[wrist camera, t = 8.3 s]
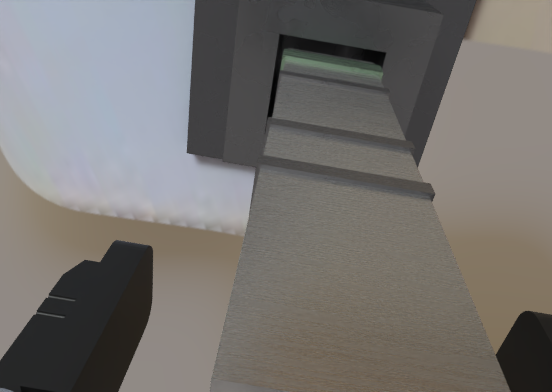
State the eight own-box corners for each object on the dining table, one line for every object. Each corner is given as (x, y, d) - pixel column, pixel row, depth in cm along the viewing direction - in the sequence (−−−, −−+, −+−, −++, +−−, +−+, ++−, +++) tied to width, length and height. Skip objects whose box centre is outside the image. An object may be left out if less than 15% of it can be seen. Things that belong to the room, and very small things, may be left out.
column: (377, 59, 21) (544, 425, 6) (355, 143, 23) (430, 573, 8) (285, 43, 21) (200, 369, 6) (271, 129, 23) (184, 532, 8)
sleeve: (493, -66, 25) (559, -63, 18) (406, 184, 33) (430, 251, 26) (206, -117, 25) (163, -133, 18) (190, 147, 33) (157, 204, 26)
